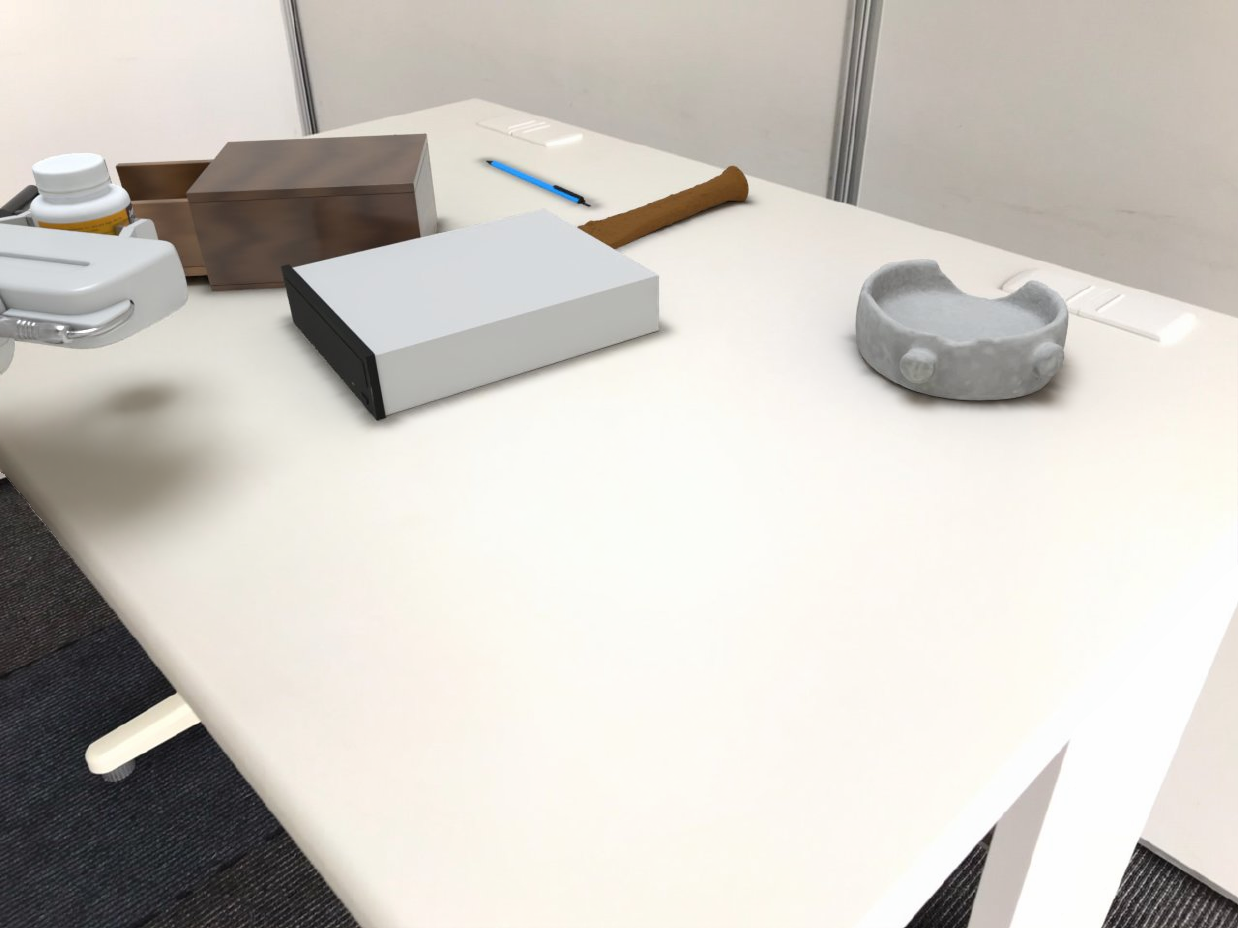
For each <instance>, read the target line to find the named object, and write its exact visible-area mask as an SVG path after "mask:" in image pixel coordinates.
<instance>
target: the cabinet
mask: <svg viewBox="0 0 1238 928" xmlns="http://www.w3.org/2000/svg"><path fill="white" fill-rule="evenodd" d="M428 141H429V140H428V134H427V133H406V134H386V135H385V134H381V135H361V136H359V135H358V136H337V137H313V138H311V137H310V138H290V139H289V138H287V139H286V138H285V139H266V140H241V141H240V140H239V141H238V140H237V141H227V142H226V143H225V144H224V146H223V147H222V148H221V150H220V151H219V152H218V153H217V155H216V156H215V157H214V158H212V159H213V161H212V162H211V163H210V164H209V166H208V167H207V168H206V169H205V170H204V172H203V173H202V174H201V175H200V177H199V178H198V179H197V180H196V181H195V183H194V184H193V185H192V186H191V188H190V189H189V190H188V191H187V193H186V196H187V199H188V202H189V207H190V211H191V215H192V219H193V222H194V226H195V230H196V234H197V237H198V241H199V245H200V249H201V252H202V256H203V260H204V264H205V267H206V271H207V275H206V276H207V278H208V282H209V285H210V290H211V292H229V291H249V290H268V289H286V287H285V283H284V278H283V274H282V269H281V266H284V265H288V264H289V265H290V266H291V267H292V268H293V267H298V266H302V265H306V264H310V263H315V262H319V261H323V260H327V259H332V258H336V257H340V256H344V255H349V254H353V253H357V252H361V251H366V250H370V249H374V248H379V247H383V246H387V245H391V244H396V243H400V242H404V241H408V240H413V239H417V238H421V237H425V236H430V235H434V234H437V229H438V223H439V220H438V213H437V205H436V197H435V189H434V187H435V186H434V181H433V173H432V172H433V171H432V163H431V156H430V149H429V148H430V147H429V142H428Z"/></svg>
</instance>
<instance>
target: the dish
mask: <svg viewBox="0 0 1238 928" xmlns="http://www.w3.org/2000/svg"><path fill="white" fill-rule="evenodd" d="M1069 316H1070V315H1069V309H1068V305H1067V303H1066V301H1065V299H1064V297H1062V296H1061V295H1060V293H1058V291H1056V290H1054V289H1053V288H1051V287H1049V286H1048V285H1047V284H1045V283H1044V282H1041V281H1039V280H1035V279H1032V280H1029V281H1027V282H1026V283H1025V284H1024V285H1022V286H1020V287H1019V288H1018V289H1017V290H1015V291H1013V292H1012V293H1010V294H1008V295H1005V296H1002V297H997V298H996V297H995V298H990V299H989V298H986V297H980V296H977V295H976V296H975V295H972V294H968V293H966V292H965V291H962V289H960V288H959V287H958V286H957V285H956V284H955V283H954V282H953V281H952V280H951V279H950V278H949V277H948V276H947V275H946V274H945V273H944V272H943V271H942V269H941V268H940V265H939V263H938V261H936V260H934V259H929V258H928V259H927V258H919V259H917V258H916V259H909V260H901V261H892V262H891V261H890V262H887V263H885V264H883V265H881V266H880V267H879V268H878V269H876V270H875V271H874V272H873V273H871V274H870V275H869V276H868V277H866V279H865V280H864V282H863V284H862V286H861V289H860V293H859V296H858V300H857V305H856V312H855V336H856V342H857V343H856V344H857V347H858V350H859V352H860V354H861V356H862V358H863V359H864V361H866V363H867V364H868V365H869V366H870V367H872V369H874V370H875V371H876V372H877V373H879V374H880V375H882V376H884V377H885V378H887V379H888V380H889V381H892V382H893V383H895V384H898V385H900V386H902V387H904V388H906V389H908V390H911V391H913V392H917V393H921V394H925V395H928V396H931V397H932V396H933V397H937V398H943V399H950V400H960V401H961V400H962V401H996V400H999V401H1000V400H1007V399H1015V398H1020V397H1025V396H1028V395H1031V394H1033V393H1036V392H1037V391H1039V390H1042V388H1044V387H1045V386H1046V385H1047V384H1048V383H1049V382H1050V381H1051V380H1052V378H1053V377H1054V376H1055V375H1056V374H1057V373H1058V372H1059V371H1060V369H1061V368H1062V366H1063V363H1064V360H1065V350H1064V349H1065V345H1066V340H1067V335H1068V327H1069V318H1070V317H1069Z"/></svg>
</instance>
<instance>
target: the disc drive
mask: <svg viewBox="0 0 1238 928" xmlns="http://www.w3.org/2000/svg"><path fill="white" fill-rule="evenodd" d="M577 227H578V226H575V225H574V224H572V223H570V222H568V221H567V220H565V219H563V218H561V217H560V216H558V215H556V214H554V213H553V212H551V211H550V210H547V209H546V208H540V209H536V210H532V211H528V212H527V211H526V212H524V213H519V214H515V215H510V216H507V217H506V216H505V217H503V218H498V219H494V220H490V221H486V222H480V223H477V224H472V225H467V226H464V227H459V228H455V229H451V230H447V231H443V232H439V233H436V234H434V235H430V236H425V237H421V238H417V239H413V240H408V241H404V242H400V243H396V244H391V245H387V246H383V247H379V248H374V249H370V250H366V251H361V252H357V253H353V254H349V255H344V256H340V257H336V258H332V259H327V260H323V261H319V262H315V263H310V264H306V265H302V266H298V267H293V268H292V267H291V266H290V265H289V264H288V265H284V266H281V269H282V274H283V278H284V283H285V287H286V288H285V291H286V296H287V300H288V305H289V309H290V314H291V318H292V322H293V323H294V325H295V326H296V327H297V328H298V330H299V331H300V332H301V333H302V334H303V336H305V337H306V339H307V340H308V342H310V343H311V344H312V347H314V348H315V350H317V352H318V353H319V354H320V356H321V357H322V358H323V359H324V360H325V361H326V363H328V365H329V366H330V367H331V368H332V370H333V371H334V372H335V373H336V374H337V375H338V376H339V378H340V379H341V380H342V381H343V383H344V384H345V385H346V387H348V388H349V390H350V391H351V392H352V393H353V394H354V395H355V397H356V398H357V399H358V400H359V401H360V402H361V404H362V405H363V406H364V407H365V408H366V410H367V411H368V412H369V413H370V414H371V416H372V417H373V418H374V419H375V420H376V421H381V420H384V419H387V416H390V415H394V414H396V413H399V412H402V411H405V410H409V409H412V408H415V407H418V406H422V405H426V404H428V403H432V402H434V401H438V400H441V399H444V398H448V397H451V396H454V395H457V394H460V393H464V392H467V391H471V390H473V389H477V388H479V387H482V386H485V385H489V384H493V383H496V382H499V381H502V380H505V379H508V378H512V377H515V376H517V375H521V374H525V373H527V372H530V371H533V370H537V369H539V368H540V369H541V368H544V367H546V366H550V365H552V364H556V363H559V362H562V361H566V360H568V359H573V358H575V357H579V356H581V355H585V354H588V353H591V352H594V351H595V352H596V351H599V350H601V349H604V348H607V347H611V346H614V345H617V344H620V343H623V342H624V343H625V342H626V341H630V340H633V339H635V338H636V339H637V338H639V337H642V336H645V335H648V334H652V333H655V332H659V331H660V274H658V273H656V272H655V271H653V270H651V269H649V268H648V267H646V266H645V265H642V264H640V263H639V262H637V261H636V260H634V259H632V258H630V257H629V256H627V255H625V254H623V253H622V252H620V251H618V250H616V249H613V248H611V247H610V246H608V245H606V244H604V243H603V242H601V241H599V240H598V239H596V238H594V237H592V236H591V235H589V234H587V233H585V232H584V231H582V230H580V229H579V228H577Z"/></svg>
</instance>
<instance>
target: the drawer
mask: <svg viewBox="0 0 1238 928" xmlns="http://www.w3.org/2000/svg"><path fill="white" fill-rule="evenodd" d="M103 159H104V161H105V165H106V168H107V171H108V172H109V169H108V165H107V163H106V159H105V158H103ZM213 159H214V158H212V159H189V160H167V161H166V160H165V161H144V162H143V161H142V162H120V163H117V164H116V165H115V169H116V172H117V176H118V179H119V183H120V187H122V188H123V189H125V190H126V192H127V193H128V195H129V198H130V200H131V203H132V207H133V211H134V214H135V218H140V219H150V220H151V221H153V223H154V226H155V230H156V233H157V237H158V240H162V241H167V242H170V243H171V244H173V245H174V247H175V248H176V250H177V253H178V255H179V258H180V261H181V264H182V267H183V270H184V273H185V277H195V276H208V275H207V271H206V267H205V264H204V260H203V256H202V252H201V249H200V245H199V241H198V237H197V234H196V230H195V226H194V222H193V219H192V215H191V211H190V207H189V202H188V199H187V196H186V193H187V191H188V190H189V189H190V188H191V186H192V185H193V184H194V183H195V181H196V180H197V179H198V178H199V177H200V175H201V174H202V173H203V172H204V170H205V169H206V168H207V167H208V166H209V164H210V163H211V162H212V161H213ZM109 178H110V180H111V183H112V184H113V182H112V178H111V176H110V177H109ZM38 195H40V194H39V192H38V188H37V187H36V184H35V185H34V184H28V185H27V186H25V187H24V188H23V189H22V190H21V191H19V192H18V193H17V194H16V195H15V196H13V197H12V198H11V199H10V200H8V201H7V202H5V204H3V205H2V206H0V218H3V217H9V216H15V215H16V216H17V215H19V214H21V213H24V212H26V211H28V210H30V205H31V203H32V201H33V200H34V199H35V198H36V197H37V196H38Z"/></svg>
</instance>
